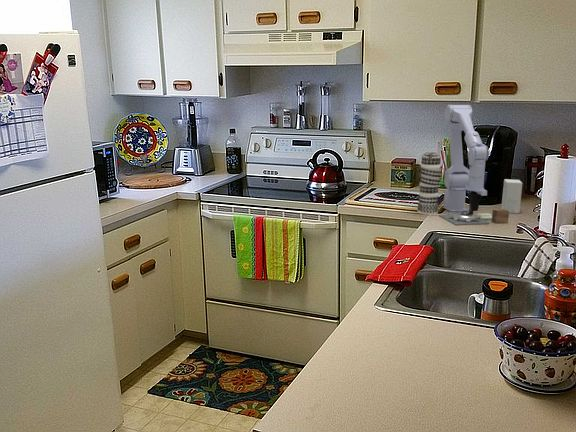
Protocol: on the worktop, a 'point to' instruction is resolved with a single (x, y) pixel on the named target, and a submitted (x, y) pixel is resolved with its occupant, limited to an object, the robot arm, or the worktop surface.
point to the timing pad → (485, 216)
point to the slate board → (463, 221)
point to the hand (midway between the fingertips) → (474, 210)
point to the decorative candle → (429, 183)
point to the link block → (500, 216)
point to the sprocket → (465, 216)
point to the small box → (512, 195)
